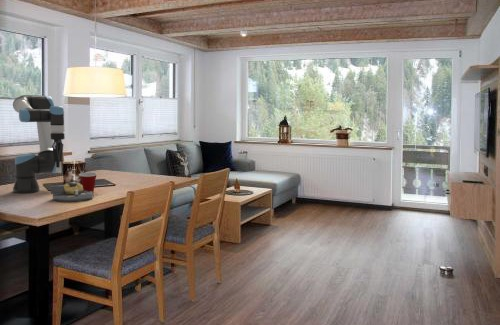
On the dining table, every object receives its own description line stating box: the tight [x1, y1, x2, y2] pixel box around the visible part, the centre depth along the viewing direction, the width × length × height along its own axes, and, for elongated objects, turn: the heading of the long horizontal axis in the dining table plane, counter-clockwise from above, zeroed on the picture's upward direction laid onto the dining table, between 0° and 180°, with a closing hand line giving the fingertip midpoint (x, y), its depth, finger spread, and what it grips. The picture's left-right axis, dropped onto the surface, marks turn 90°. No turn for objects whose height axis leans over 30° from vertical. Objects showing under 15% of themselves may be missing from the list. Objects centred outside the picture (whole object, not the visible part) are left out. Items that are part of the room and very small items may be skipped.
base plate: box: [52, 190, 94, 203], centre depth 274 cm, size 22×22×6 cm
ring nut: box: [50, 181, 83, 195], centre depth 272 cm, size 18×11×6 cm, turn 114°
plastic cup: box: [78, 171, 98, 193], centre depth 293 cm, size 11×11×12 cm
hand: (58, 172), depth 275 cm, fingers closed
